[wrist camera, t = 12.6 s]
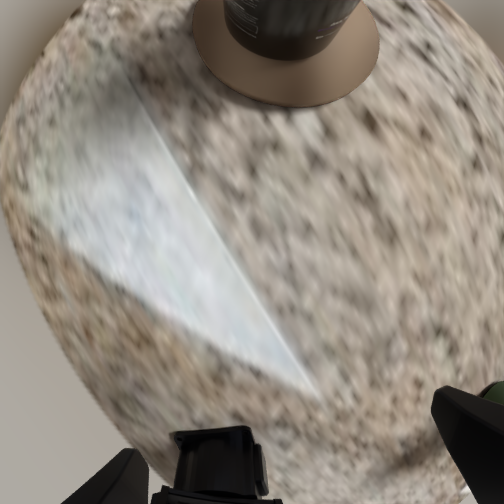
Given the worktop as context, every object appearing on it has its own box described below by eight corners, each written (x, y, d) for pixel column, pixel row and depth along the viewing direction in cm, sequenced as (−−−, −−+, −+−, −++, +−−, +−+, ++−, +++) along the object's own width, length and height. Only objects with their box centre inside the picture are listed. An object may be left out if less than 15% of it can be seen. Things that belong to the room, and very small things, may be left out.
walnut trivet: (209, 122, 16) (208, 118, 15) (185, -20, 14) (183, -27, 13) (392, 102, 16) (400, 99, 15) (345, -29, 14) (348, -36, 13)
